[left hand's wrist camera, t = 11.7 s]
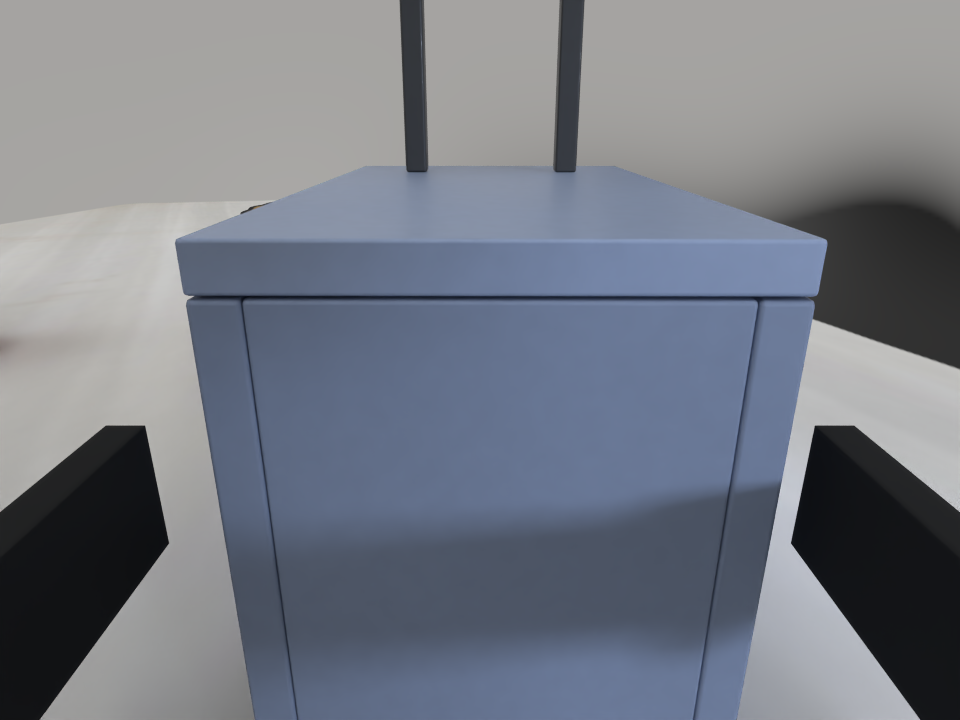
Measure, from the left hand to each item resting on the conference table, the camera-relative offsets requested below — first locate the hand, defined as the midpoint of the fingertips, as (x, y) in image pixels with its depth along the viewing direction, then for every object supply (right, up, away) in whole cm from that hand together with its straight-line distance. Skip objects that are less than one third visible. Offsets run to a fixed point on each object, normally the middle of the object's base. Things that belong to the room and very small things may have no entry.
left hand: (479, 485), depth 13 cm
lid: (0, +6, +4) cm, 8 cm away
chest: (0, -4, +8) cm, 9 cm away
